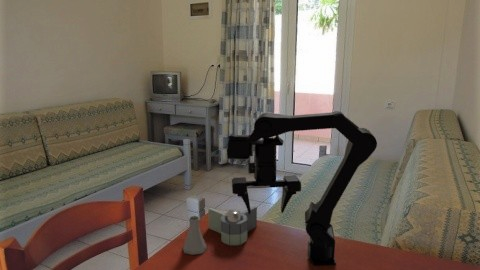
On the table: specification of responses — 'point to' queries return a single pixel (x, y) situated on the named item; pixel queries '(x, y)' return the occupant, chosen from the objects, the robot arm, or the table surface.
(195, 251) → the flask
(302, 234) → the table surface
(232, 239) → the pale green bracket
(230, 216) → the pin
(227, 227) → the grey hollow faceted fixture
